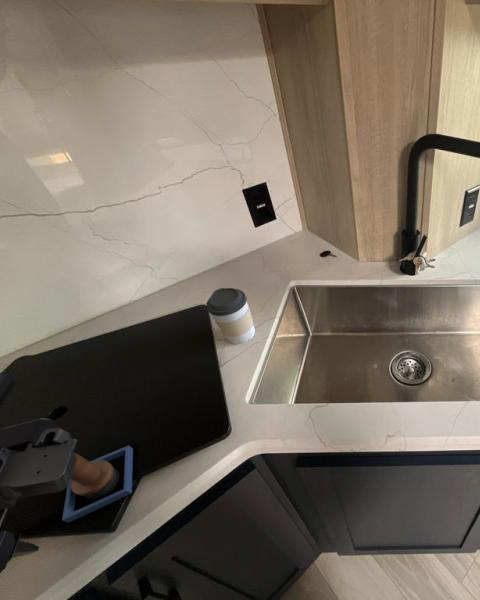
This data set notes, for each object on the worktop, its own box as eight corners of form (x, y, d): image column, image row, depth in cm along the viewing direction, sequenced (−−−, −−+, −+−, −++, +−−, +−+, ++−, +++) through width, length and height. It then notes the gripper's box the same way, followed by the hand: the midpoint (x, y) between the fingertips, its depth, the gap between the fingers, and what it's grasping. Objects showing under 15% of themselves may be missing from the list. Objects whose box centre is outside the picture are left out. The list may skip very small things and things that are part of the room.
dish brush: (88, 508, 57) (39, 485, 49) (83, 483, 60) (35, 457, 52) (125, 485, 60) (84, 459, 52) (118, 462, 63) (79, 434, 55)
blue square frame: (71, 524, 56) (61, 520, 54) (78, 474, 61) (69, 469, 60) (134, 494, 59) (127, 490, 57) (135, 450, 65) (128, 445, 63)
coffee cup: (266, 335, 88) (250, 295, 78) (234, 355, 83) (213, 314, 73) (249, 319, 92) (232, 278, 82) (218, 336, 87) (196, 295, 77)
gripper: (0, 537, 31) (97, 565, 42) (65, 381, 44) (127, 433, 54) (-165, 593, 28) (-14, 608, 39) (-43, 408, 41) (45, 457, 51)
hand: (47, 513), depth 46 cm, fingers open, 9 cm apart
